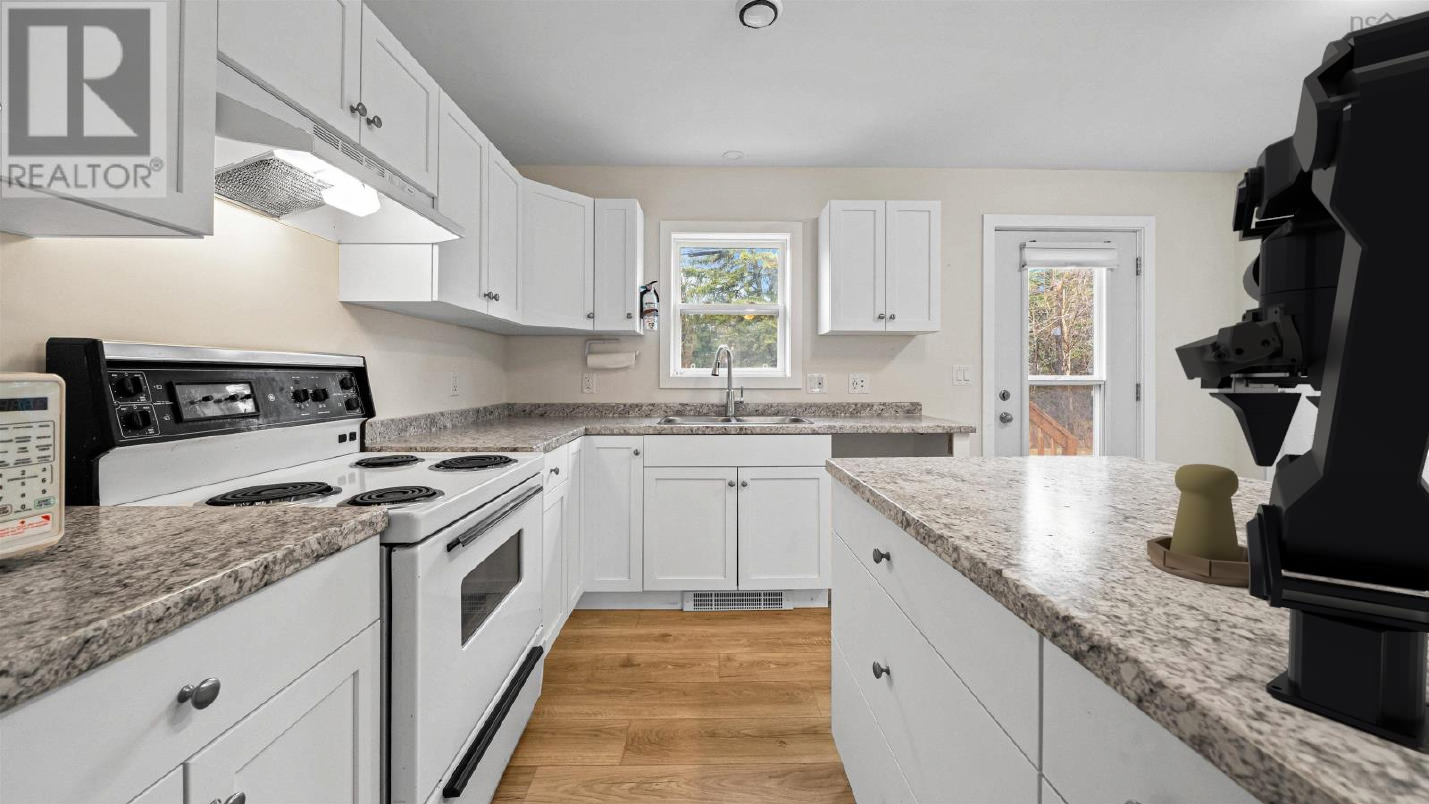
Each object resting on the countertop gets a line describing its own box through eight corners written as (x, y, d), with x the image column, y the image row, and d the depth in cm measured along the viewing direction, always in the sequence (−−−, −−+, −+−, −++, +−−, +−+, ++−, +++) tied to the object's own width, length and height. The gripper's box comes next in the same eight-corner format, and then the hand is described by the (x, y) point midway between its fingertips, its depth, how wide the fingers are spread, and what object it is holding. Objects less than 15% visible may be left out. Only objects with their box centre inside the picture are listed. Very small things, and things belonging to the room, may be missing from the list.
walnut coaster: (1247, 593, 53) (1247, 569, 53) (1134, 565, 61) (1134, 544, 61) (1283, 576, 57) (1284, 554, 57) (1173, 551, 66) (1173, 532, 66)
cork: (1210, 555, 62) (1212, 461, 62) (1258, 573, 56) (1261, 469, 56) (1155, 554, 63) (1156, 460, 62) (1196, 572, 57) (1198, 469, 56)
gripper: (1142, 311, 57) (1139, 457, 57) (1263, 279, 39) (1258, 491, 39) (1273, 305, 54) (1269, 460, 54) (1472, 268, 36) (1463, 499, 36)
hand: (1301, 474), depth 46 cm, fingers open, 9 cm apart
